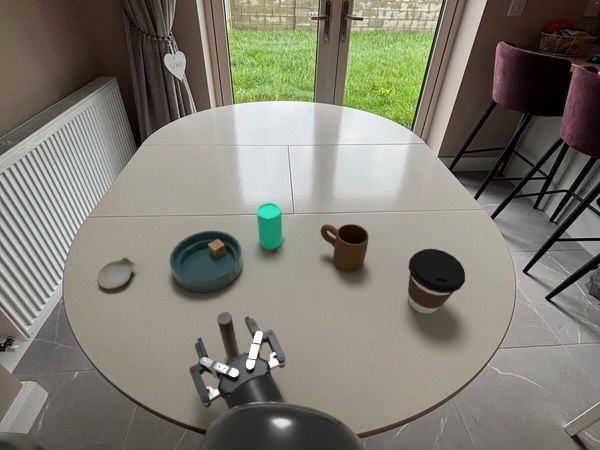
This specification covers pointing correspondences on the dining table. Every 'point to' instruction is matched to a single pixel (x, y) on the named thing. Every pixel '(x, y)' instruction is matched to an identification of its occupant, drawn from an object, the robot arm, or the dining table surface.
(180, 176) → the dining table surface
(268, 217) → the candle
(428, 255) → the coffee cup
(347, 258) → the mug
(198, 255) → the bowl
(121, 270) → the seashell
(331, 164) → the dining table surface
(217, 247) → the block
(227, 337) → the muddler
